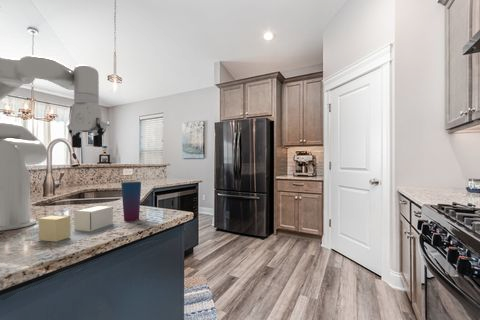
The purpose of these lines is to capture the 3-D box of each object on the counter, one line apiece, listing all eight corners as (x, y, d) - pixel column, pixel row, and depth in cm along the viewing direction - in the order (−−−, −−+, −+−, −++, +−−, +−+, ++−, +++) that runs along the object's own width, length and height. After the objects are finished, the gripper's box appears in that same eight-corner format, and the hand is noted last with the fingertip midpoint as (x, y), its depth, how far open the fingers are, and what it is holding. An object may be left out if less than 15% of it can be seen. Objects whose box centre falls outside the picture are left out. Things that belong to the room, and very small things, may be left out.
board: (25, 242, 64) (25, 239, 64) (88, 223, 83) (88, 221, 83) (69, 247, 60) (69, 244, 60) (125, 226, 79) (125, 223, 79)
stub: (38, 240, 63) (38, 218, 63) (53, 235, 67) (53, 214, 67) (56, 241, 61) (56, 219, 61) (70, 236, 65) (70, 215, 65)
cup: (133, 224, 81) (133, 183, 81) (117, 224, 82) (116, 182, 82) (145, 219, 88) (144, 181, 88) (129, 219, 89) (129, 181, 89)
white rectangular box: (74, 229, 73) (74, 211, 73) (98, 222, 81) (98, 205, 82) (90, 231, 71) (90, 211, 71) (113, 223, 80) (112, 206, 80)
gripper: (58, 100, 82) (58, 147, 82) (96, 96, 77) (97, 145, 77) (78, 105, 89) (78, 148, 89) (114, 101, 85) (114, 147, 84)
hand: (87, 147), depth 83 cm, fingers open, 9 cm apart
